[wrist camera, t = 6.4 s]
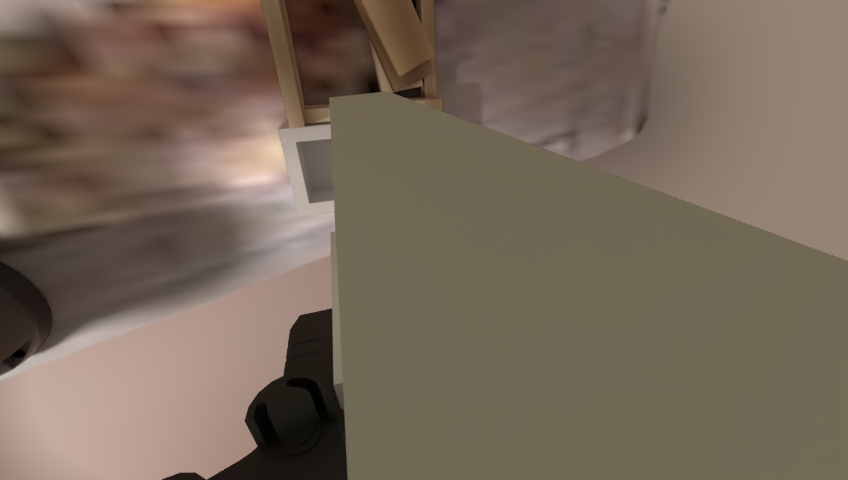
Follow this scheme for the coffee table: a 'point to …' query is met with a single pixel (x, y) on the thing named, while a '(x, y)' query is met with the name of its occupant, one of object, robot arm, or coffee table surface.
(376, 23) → the offcut oak
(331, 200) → the bin
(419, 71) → the offcut walnut
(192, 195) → the coffee table surface
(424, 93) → the rack
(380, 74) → the offcut birch
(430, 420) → the grey-green flat block
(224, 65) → the coffee table surface
